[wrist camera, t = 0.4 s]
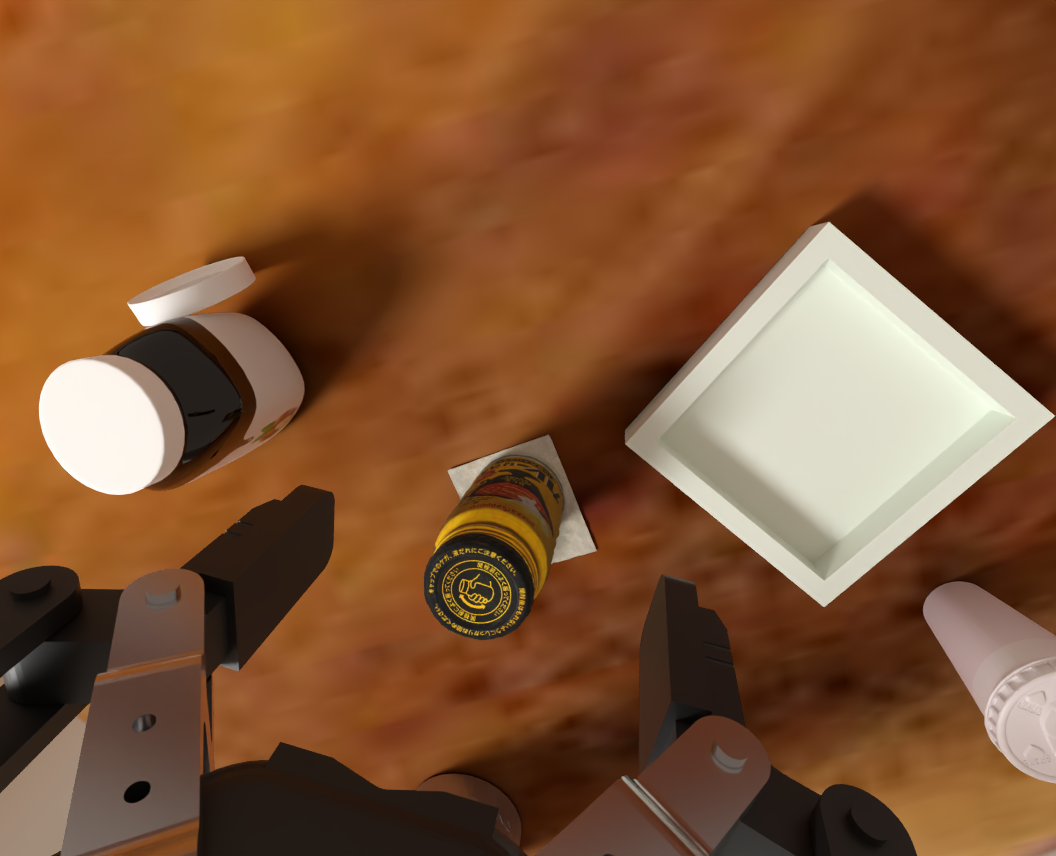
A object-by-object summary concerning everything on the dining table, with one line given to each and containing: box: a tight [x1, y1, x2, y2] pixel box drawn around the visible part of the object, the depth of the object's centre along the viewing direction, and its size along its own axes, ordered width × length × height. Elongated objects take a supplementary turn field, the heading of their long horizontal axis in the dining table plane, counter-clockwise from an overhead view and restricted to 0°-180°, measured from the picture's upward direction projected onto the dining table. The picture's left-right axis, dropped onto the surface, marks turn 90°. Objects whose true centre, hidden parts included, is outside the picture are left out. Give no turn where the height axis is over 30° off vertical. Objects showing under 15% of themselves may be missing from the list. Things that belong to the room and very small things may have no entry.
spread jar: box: [39, 257, 305, 495], centre depth 32 cm, size 12×11×12 cm
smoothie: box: [923, 581, 1056, 783], centre depth 28 cm, size 6×6×14 cm
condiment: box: [424, 435, 596, 640], centre depth 32 cm, size 7×8×12 cm
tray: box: [625, 222, 1054, 607], centre depth 32 cm, size 15×15×3 cm
